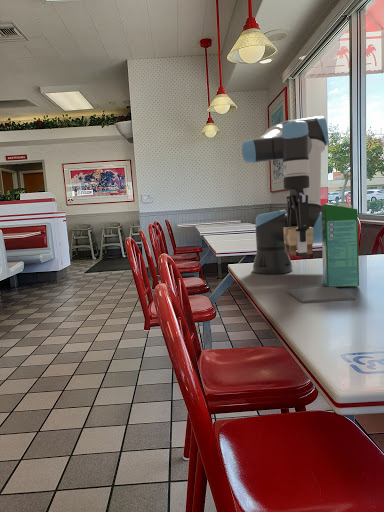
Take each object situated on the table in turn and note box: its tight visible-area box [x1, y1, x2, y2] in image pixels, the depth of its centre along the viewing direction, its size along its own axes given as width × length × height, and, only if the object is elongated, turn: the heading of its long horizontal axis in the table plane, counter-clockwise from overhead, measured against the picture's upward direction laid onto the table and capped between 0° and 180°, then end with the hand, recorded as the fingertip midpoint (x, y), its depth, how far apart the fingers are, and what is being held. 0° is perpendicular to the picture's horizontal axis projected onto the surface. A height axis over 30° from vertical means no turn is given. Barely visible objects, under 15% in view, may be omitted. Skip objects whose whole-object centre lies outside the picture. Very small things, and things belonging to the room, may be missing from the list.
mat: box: [287, 286, 356, 304], centre depth 108 cm, size 14×14×1 cm
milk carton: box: [321, 202, 360, 288], centre depth 118 cm, size 9×9×25 cm
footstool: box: [283, 226, 314, 256], centre depth 118 cm, size 7×7×8 cm
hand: (298, 250), depth 119 cm, fingers closed on footstool, 7 cm apart
